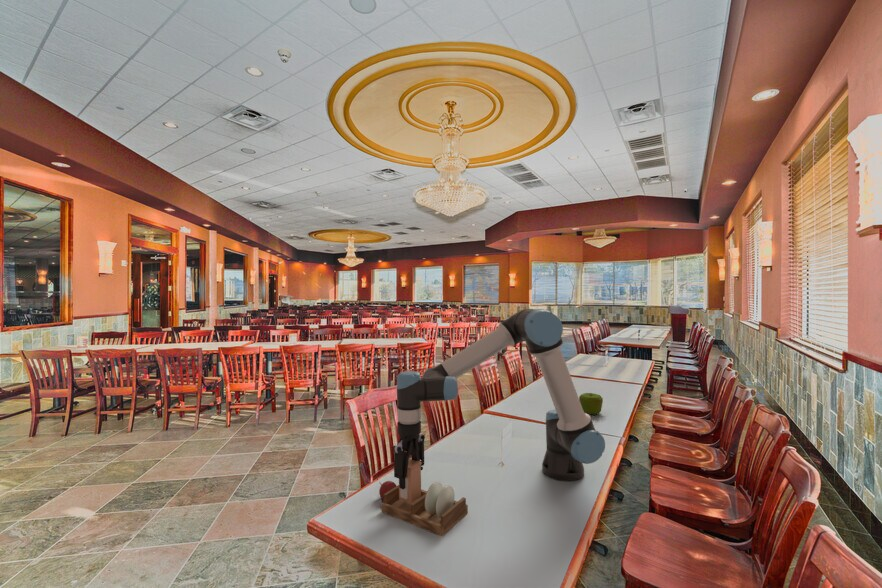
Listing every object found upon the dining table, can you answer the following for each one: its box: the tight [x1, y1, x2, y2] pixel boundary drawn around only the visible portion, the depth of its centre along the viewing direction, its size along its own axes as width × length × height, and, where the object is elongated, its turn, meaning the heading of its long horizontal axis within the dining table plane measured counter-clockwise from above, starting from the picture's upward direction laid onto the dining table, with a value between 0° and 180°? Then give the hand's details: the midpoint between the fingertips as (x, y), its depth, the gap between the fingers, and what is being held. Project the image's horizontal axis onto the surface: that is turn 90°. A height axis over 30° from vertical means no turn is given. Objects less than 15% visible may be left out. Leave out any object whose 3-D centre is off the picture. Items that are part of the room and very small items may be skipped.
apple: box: [578, 392, 604, 416], centre depth 218 cm, size 12×12×11 cm
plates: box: [425, 481, 455, 518], centre depth 117 cm, size 5×9×9 cm, turn 145°
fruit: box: [376, 478, 398, 501], centre depth 130 cm, size 6×6×8 cm
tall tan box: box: [399, 457, 422, 503], centre depth 123 cm, size 5×5×11 cm
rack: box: [381, 484, 469, 537], centre depth 120 cm, size 23×14×5 cm, turn 55°
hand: (410, 493), depth 123 cm, fingers closed on tall tan box, 5 cm apart
